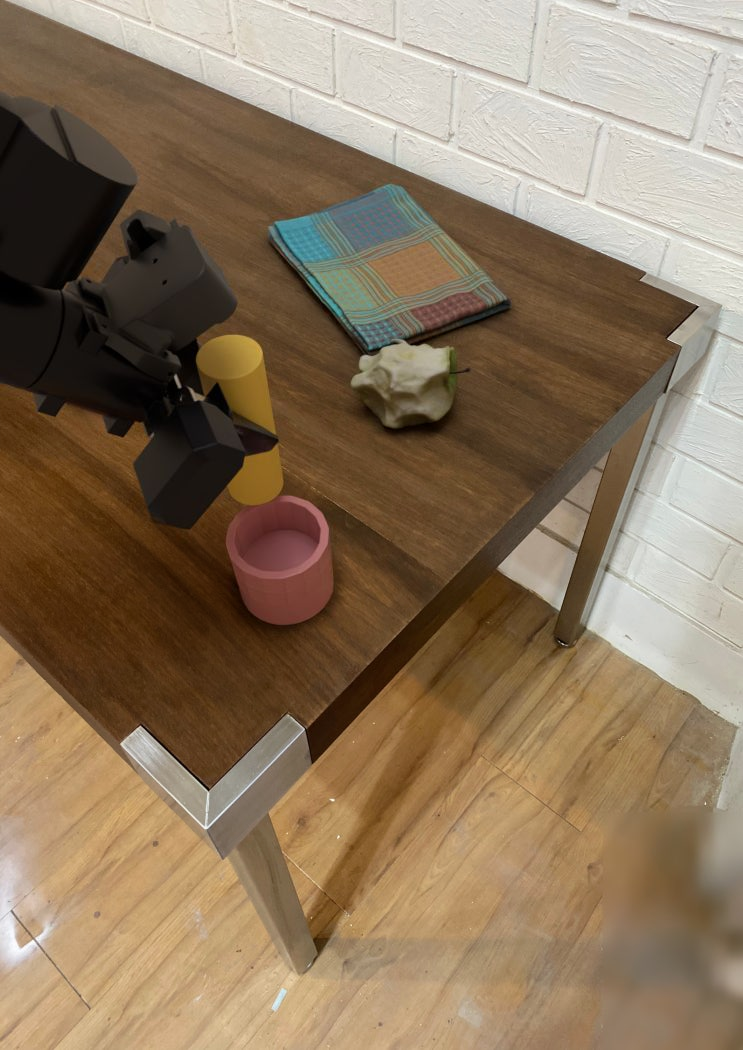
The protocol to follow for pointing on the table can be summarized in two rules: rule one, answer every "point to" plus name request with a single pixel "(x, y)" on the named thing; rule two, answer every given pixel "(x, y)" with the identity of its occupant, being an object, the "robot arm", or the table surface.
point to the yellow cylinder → (244, 409)
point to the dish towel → (386, 269)
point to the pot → (282, 559)
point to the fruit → (408, 383)
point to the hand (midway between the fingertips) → (264, 422)
